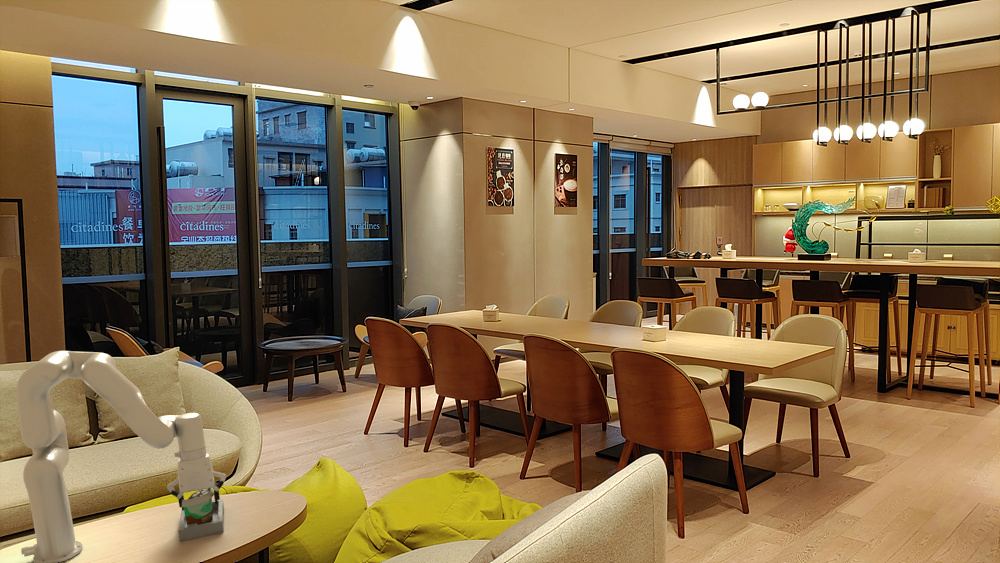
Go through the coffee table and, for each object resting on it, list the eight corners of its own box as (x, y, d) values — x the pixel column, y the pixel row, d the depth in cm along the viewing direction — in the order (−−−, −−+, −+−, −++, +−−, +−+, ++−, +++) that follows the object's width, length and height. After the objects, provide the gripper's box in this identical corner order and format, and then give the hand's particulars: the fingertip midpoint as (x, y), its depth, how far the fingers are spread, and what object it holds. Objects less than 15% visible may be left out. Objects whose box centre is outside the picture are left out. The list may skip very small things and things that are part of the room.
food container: (203, 531, 225) (199, 500, 224) (185, 531, 226) (180, 500, 224) (224, 513, 237) (220, 483, 236) (206, 513, 238) (202, 484, 237)
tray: (179, 541, 221) (178, 530, 220) (183, 517, 238) (182, 507, 237) (223, 532, 225) (222, 521, 224) (224, 508, 242) (222, 498, 241)
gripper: (161, 462, 222) (169, 516, 224) (222, 451, 228) (229, 504, 230) (163, 454, 229) (171, 507, 231) (222, 444, 235) (229, 495, 237)
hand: (200, 505), depth 230 cm, fingers open, 9 cm apart
